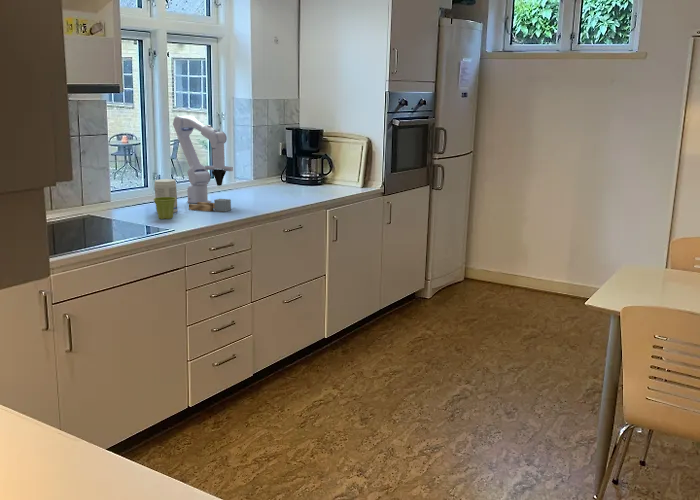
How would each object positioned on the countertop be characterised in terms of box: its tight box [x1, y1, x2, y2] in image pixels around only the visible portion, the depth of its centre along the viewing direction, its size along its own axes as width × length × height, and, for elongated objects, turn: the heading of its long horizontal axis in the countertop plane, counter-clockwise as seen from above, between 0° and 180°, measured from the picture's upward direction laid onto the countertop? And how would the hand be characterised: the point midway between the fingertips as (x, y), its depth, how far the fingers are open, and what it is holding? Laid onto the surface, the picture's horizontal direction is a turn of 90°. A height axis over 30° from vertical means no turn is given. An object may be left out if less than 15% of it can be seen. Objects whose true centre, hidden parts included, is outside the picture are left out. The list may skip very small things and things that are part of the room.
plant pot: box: [153, 197, 176, 220], centre depth 302 cm, size 9×9×9 cm
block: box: [213, 198, 232, 212], centre depth 322 cm, size 6×4×5 cm
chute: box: [188, 202, 215, 212], centre depth 326 cm, size 13×8×4 cm, turn 68°
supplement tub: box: [154, 178, 178, 214], centre depth 316 cm, size 10×10×15 cm
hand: (219, 185), depth 335 cm, fingers closed
